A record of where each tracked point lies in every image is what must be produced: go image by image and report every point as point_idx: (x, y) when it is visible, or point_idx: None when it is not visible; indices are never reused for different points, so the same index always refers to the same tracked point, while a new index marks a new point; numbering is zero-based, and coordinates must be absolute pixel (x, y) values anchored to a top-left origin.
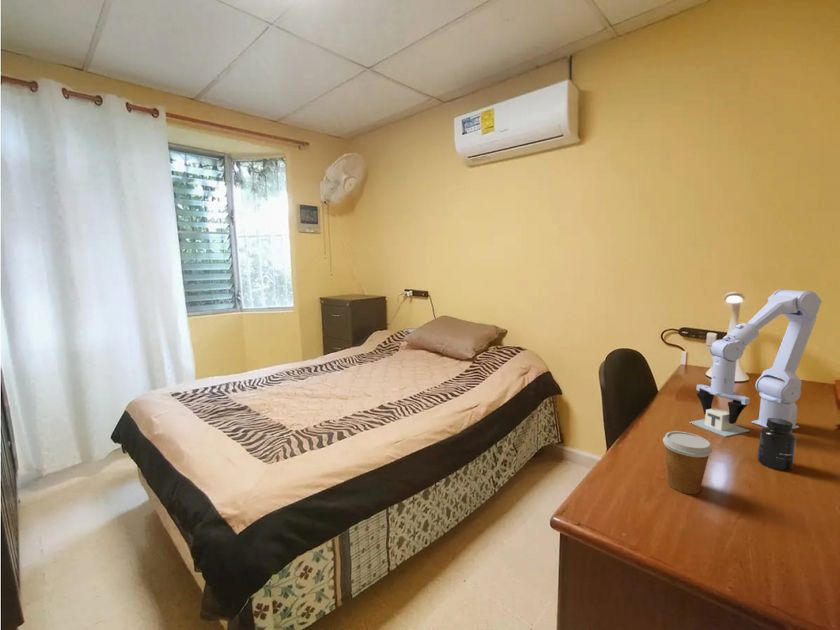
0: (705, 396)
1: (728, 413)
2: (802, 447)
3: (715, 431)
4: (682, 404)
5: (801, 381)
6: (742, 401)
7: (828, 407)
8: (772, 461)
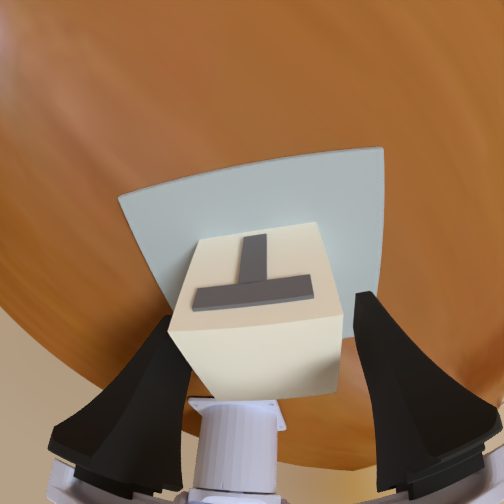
0: (411, 454)
1: (215, 385)
2: (90, 360)
3: (187, 192)
4: (494, 314)
5: None
6: (60, 481)
7: (295, 463)
8: None
